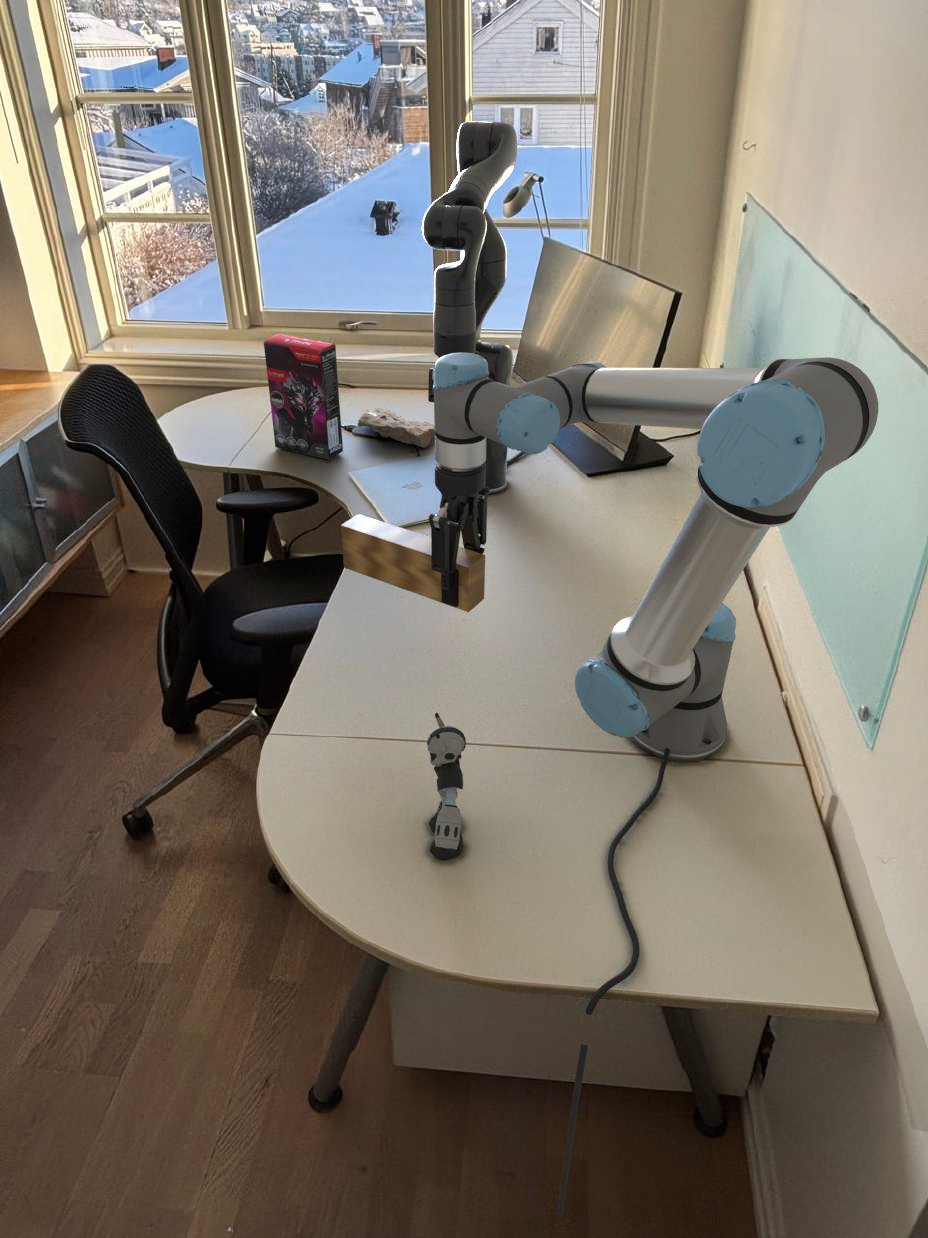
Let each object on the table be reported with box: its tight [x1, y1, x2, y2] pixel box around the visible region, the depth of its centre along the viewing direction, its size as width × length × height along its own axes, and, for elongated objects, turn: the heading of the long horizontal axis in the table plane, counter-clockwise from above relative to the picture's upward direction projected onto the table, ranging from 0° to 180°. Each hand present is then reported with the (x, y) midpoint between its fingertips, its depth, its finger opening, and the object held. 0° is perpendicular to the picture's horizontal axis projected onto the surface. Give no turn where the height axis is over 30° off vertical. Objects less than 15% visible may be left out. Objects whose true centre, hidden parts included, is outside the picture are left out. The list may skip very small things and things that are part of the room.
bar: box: [340, 513, 486, 613], centre depth 150 cm, size 25×5×8 cm, turn 58°
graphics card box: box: [263, 333, 344, 460], centre depth 223 cm, size 17×7×27 cm, turn 62°
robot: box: [426, 712, 467, 861], centre depth 119 cm, size 20×5×20 cm, turn 3°
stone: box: [357, 407, 435, 449], centre depth 236 cm, size 21×15×6 cm
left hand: (454, 414), depth 172 cm, fingers open, 8 cm apart
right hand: (459, 595), depth 148 cm, fingers closed on bar, 5 cm apart
